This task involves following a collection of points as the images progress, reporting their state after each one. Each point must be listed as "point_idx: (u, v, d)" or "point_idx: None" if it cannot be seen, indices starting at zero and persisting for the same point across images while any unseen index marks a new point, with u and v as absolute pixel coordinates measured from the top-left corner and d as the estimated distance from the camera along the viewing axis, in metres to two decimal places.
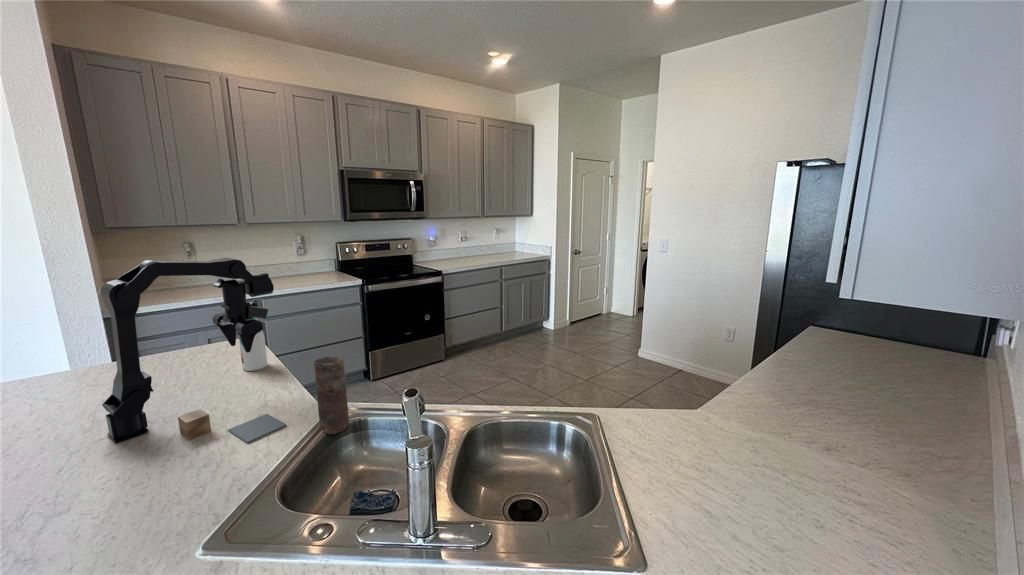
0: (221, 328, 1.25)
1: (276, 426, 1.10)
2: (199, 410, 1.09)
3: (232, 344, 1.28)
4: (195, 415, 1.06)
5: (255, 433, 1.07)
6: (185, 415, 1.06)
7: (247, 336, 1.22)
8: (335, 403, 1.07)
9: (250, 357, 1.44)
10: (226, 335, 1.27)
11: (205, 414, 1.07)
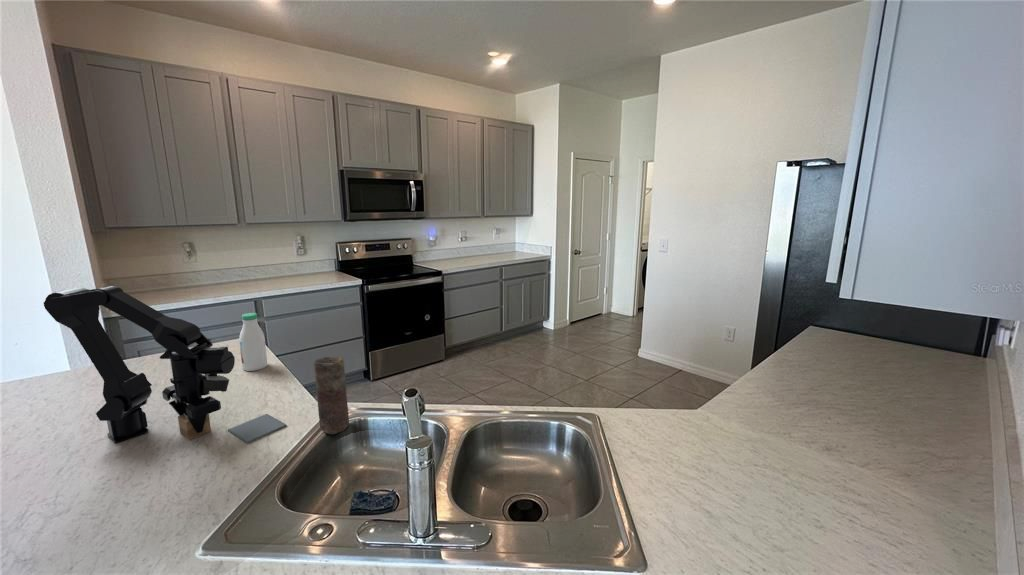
0: (175, 407, 1.05)
1: (276, 426, 1.10)
2: None
3: None
4: None
5: (255, 433, 1.07)
6: None
7: None
8: (335, 403, 1.07)
9: (250, 357, 1.44)
10: (181, 414, 1.06)
11: None
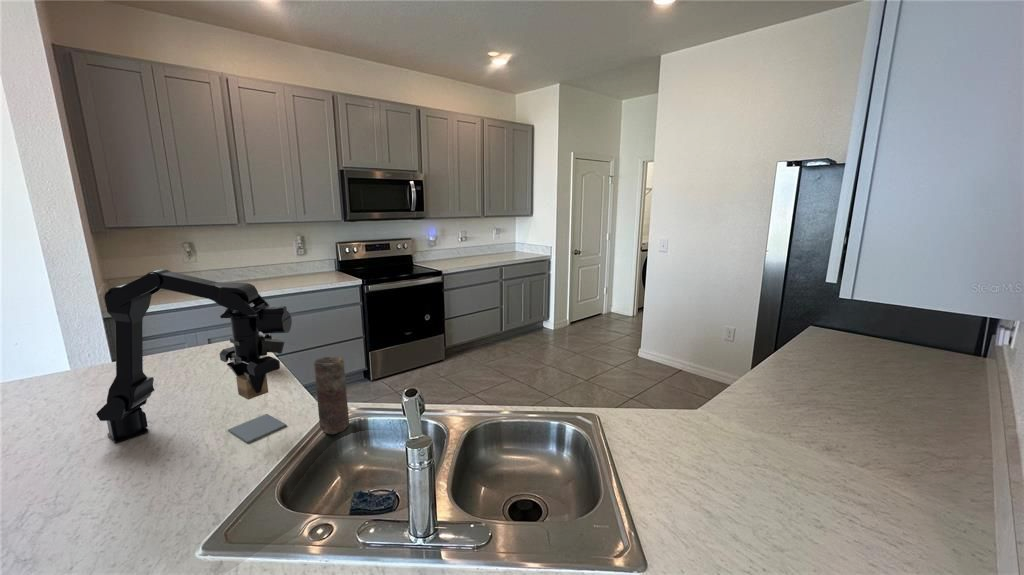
0: (233, 368, 1.06)
1: (276, 426, 1.10)
2: None
3: None
4: None
5: (255, 433, 1.07)
6: (243, 375, 1.07)
7: None
8: (335, 403, 1.07)
9: None
10: None
11: None
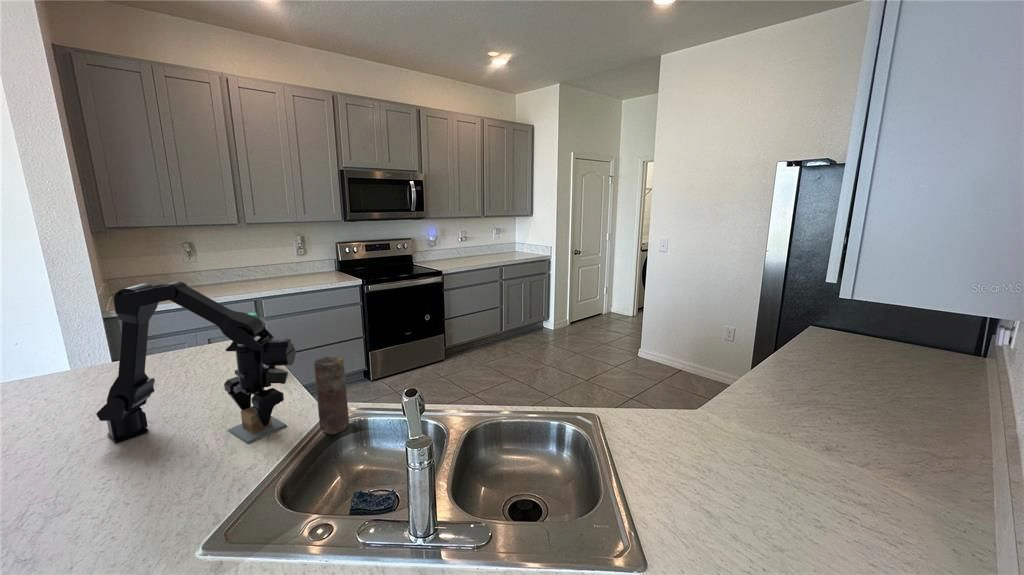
0: (234, 397, 1.09)
1: (276, 426, 1.10)
2: None
3: None
4: None
5: (255, 433, 1.07)
6: (247, 409, 1.09)
7: (265, 408, 1.05)
8: (335, 403, 1.07)
9: None
10: (240, 404, 1.10)
11: None
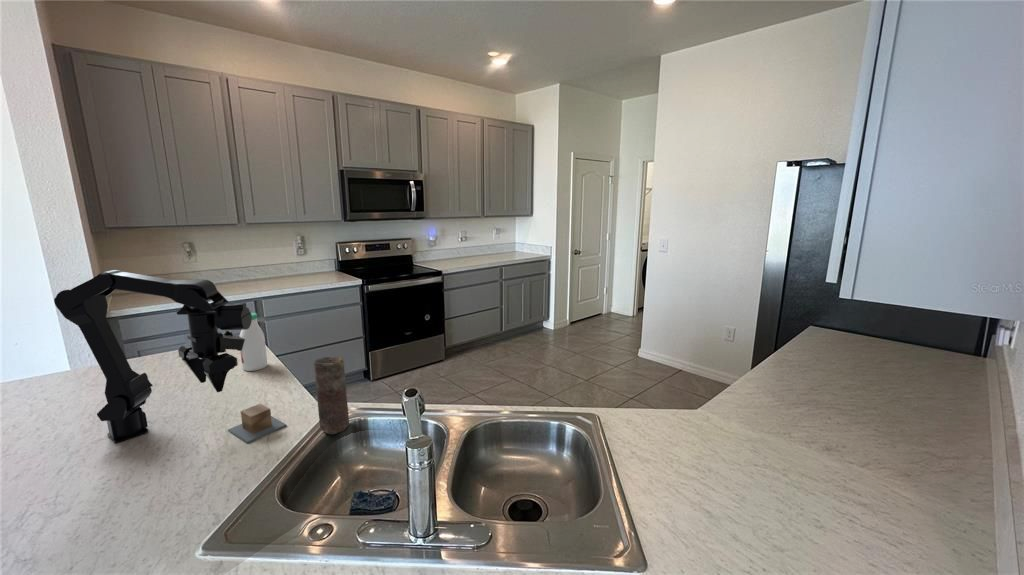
0: (188, 362, 1.06)
1: (276, 426, 1.10)
2: (260, 405, 1.11)
3: (202, 380, 1.09)
4: (257, 409, 1.09)
5: (255, 433, 1.07)
6: (247, 409, 1.09)
7: (218, 373, 1.03)
8: (335, 403, 1.07)
9: (250, 357, 1.44)
10: (194, 370, 1.07)
11: (267, 408, 1.09)
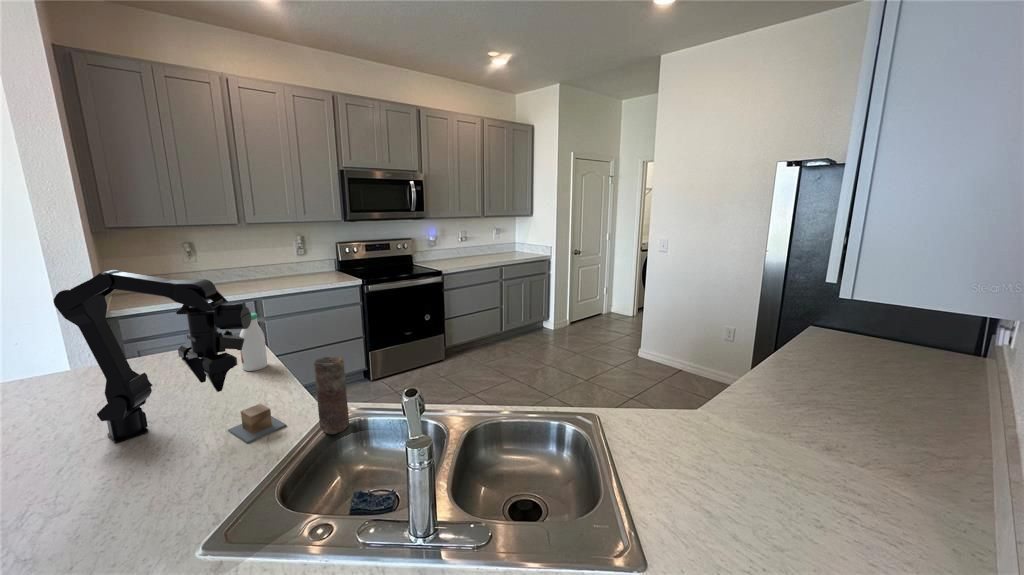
0: (188, 362, 1.06)
1: (276, 426, 1.10)
2: (260, 405, 1.11)
3: (201, 380, 1.09)
4: (257, 409, 1.09)
5: (255, 433, 1.07)
6: (247, 409, 1.09)
7: (217, 373, 1.03)
8: (335, 403, 1.07)
9: (250, 357, 1.44)
10: (194, 370, 1.07)
11: (267, 408, 1.09)
